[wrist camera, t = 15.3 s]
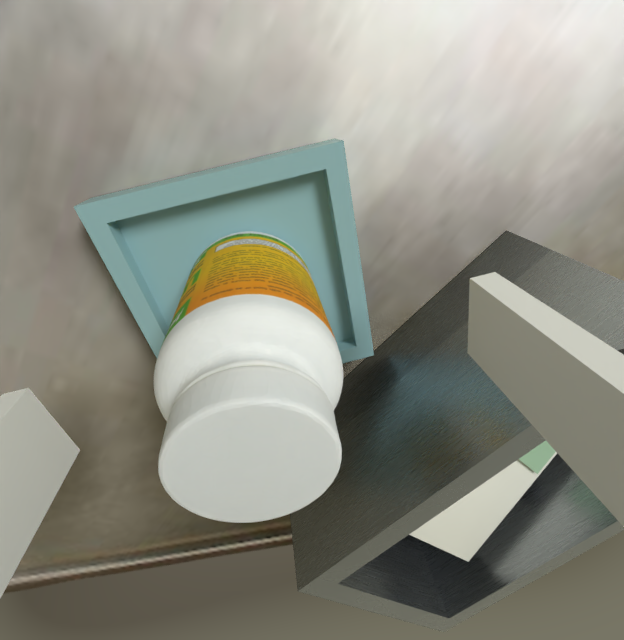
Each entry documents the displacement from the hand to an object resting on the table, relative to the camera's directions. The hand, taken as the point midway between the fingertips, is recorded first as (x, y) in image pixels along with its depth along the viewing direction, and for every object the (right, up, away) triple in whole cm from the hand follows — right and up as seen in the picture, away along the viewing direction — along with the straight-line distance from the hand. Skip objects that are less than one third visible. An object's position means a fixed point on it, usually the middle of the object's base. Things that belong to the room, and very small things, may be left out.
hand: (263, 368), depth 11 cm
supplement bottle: (-1, +3, +5) cm, 6 cm away
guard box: (+9, -3, +11) cm, 15 cm away
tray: (-1, +3, +6) cm, 7 cm away
